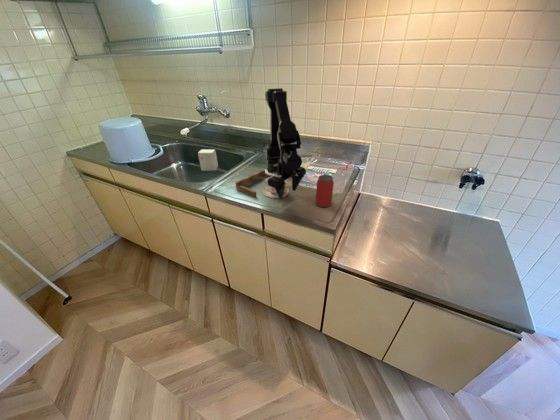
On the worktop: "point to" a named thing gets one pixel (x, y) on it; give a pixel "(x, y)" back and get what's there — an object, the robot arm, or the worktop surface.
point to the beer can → (324, 190)
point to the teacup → (272, 191)
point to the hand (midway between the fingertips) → (287, 194)
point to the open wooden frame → (250, 182)
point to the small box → (208, 160)
